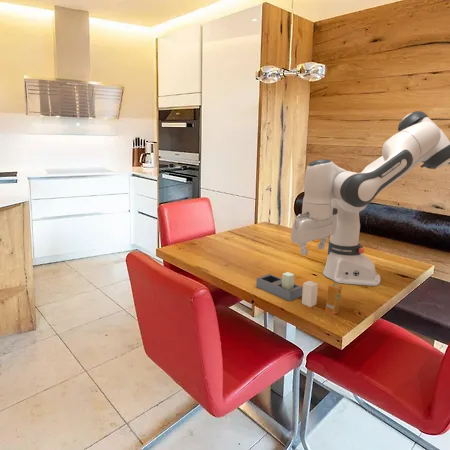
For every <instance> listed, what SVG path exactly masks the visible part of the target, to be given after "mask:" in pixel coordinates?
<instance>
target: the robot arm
mask: <svg viewBox="0 0 450 450" xmlns="http://www.w3.org/2000/svg"><path fill="white" fill-rule="evenodd" d="M381 154H382V155H381V156H379V157H378V158H376V159H375V160H373V161H372V162H371V163H369V164H367V165H366V166H365V168H364V169H363V170H362V171H360V172H355V171H351V170H346V169H344V168H342V167H340V166H338V165H337V164H336V163H334V162H333V161H332V160H331V159H325V158H324V159H316V160H312V161H311V162H309V163H308V165H306V169H305V173H304V181H303V191H304V195H303V198H302V207H301V213H299V214H297V216H296V217H295V218H294V221H293V222H292V227H291V232H290V234H291V235H290V240H291V242H292V243H295V244H297V245H298V246H299V248H300V255H302V256H306V255H308V254H309V253H308V251H309V249H307V247H306V246H307V244H308V243H310V242H312V241H316V240H319V239H320V241H319V243H317V249H318V250H325V249H326V244H327V258H326V259H327V260H326V262H325V266H324V268H323V271H322V274H323V275H324V277H326V278H328V279H330V280H332V281H334V283H337V284H345V285H355V286H356V285H357V286H358V285H359V286H371V287H372V286H373V287H376V286H379V285H380V284H381V275H380V274H379V273H377V272H376V266H375V263H374V262H373V261H372V260H371V259H370V258H369V257H368V256H366V255H365V253H364V252H365V248H364V245H363V244H360V243H359V239H360V231H361V223H360V222H361V221H360V212H362V211H363V210H365V208H367V206H368V205H369V204H370V203H371V202H373V201H374V199H375V198H376V197H377V196H378V195H379V194H380V193H381V192H382V191H384V190H385V189H386V188H388V187H389V186H392V185H393V184H394V183H395V182H397V181H398V180H400V179H401V178H404V176H406V175H408V174H409V173H410V172H411V171H412V170H414V169H415V168H416V167H418V165H419V164H420V163H423V164H421V165H420V166H419V167H420V168H421V169H422V168H424V167H425V168H427V169H430V170H436V169H439V168H440V169H441V168H443V167H445V166H447V165H448V164H449V163H450V139H449V138H448V137H447V135H446V134H445V132H444V131H443V129H441V128H440V127H439V126H438V125H437V124H436V122H434V121H433V120H432V119H431V118H429V117H428V114H426V113H425V112H423V111H421V110H420V111H419V110H415V111H413V112H410V113H408V114H406V116H404V117H403V118H402V119H401V121H400V122H399V124H398V126H397V132H396V133H395V134H393V135H392V136H390V137H389V138H388V139H387V140H386V141H384V142H383V145H382V149H381ZM328 239H329V241H328ZM327 241H328V242H327Z"/></svg>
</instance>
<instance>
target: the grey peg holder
mask: <svg viewBox="0 0 450 450" xmlns="http://www.w3.org/2000/svg"><path fill="white" fill-rule="evenodd" d="M255 283H256V284H255V285H256V286H255V287H256V288H258V289H260V290H263V291H265V292H267V293H270V294H272V295H274V296H276V297H279V298H280V299H283V300H286V301H288V302H291V301H295V300H296V299H298V298H302V294H303V285H299V284H296V283H294V288H293V289H290V290H287V289H285V288H282V277H281V278H280V277H279V276H276V275H273V274H272V273H271V274H270V273H268V274H264V275H262V276H259V277H256V282H255Z"/></svg>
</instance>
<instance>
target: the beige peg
mask: <svg viewBox="0 0 450 450" xmlns="http://www.w3.org/2000/svg"><path fill="white" fill-rule="evenodd" d="M281 279H282V288H285V289H287V290H290V289H293V288H294V284H295V274H294V273H292V272H289V271H286V272H284V273H282V275H281Z"/></svg>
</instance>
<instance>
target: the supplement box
mask: <svg viewBox="0 0 450 450" xmlns="http://www.w3.org/2000/svg"><path fill="white" fill-rule="evenodd" d="M342 288H343V285H341V284H340V283H337V282H332V283H330V284H329V285H328V288H327V293H326V302H325V303H326V304H325V311H324V312H325V313H328V314H330V315H333V316H335V315H336V314H338V313H339V310H340V303H341V298H342V297H341V296H342V290H343V289H342Z"/></svg>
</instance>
